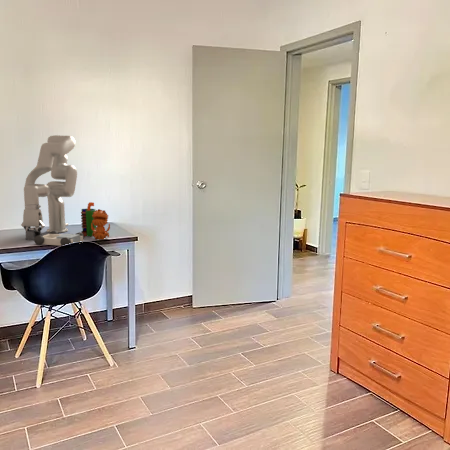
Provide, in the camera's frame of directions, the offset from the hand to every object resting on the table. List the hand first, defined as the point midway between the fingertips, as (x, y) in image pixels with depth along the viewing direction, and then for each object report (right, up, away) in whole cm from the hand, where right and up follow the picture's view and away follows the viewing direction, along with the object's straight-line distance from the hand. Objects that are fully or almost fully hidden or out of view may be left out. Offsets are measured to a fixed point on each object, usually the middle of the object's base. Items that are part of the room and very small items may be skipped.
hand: (33, 237), depth 259 cm
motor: (+28, +1, +15) cm, 31 cm away
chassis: (+18, -3, -9) cm, 21 cm away
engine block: (0, -1, 0) cm, 1 cm away
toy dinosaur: (+38, -1, +4) cm, 38 cm away
